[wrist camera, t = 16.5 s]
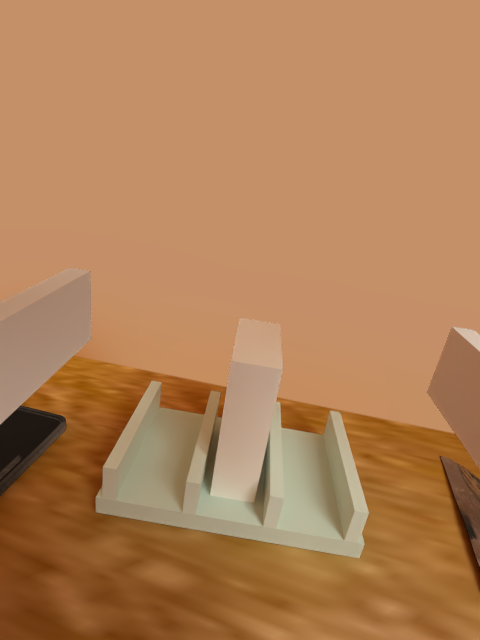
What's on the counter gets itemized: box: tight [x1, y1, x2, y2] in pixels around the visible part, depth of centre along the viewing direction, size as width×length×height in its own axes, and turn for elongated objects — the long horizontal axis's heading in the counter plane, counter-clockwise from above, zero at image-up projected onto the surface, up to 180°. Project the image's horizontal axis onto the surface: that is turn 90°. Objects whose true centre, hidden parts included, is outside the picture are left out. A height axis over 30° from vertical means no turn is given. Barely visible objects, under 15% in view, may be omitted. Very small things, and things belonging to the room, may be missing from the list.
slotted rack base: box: [96, 381, 369, 558], centre depth 33 cm, size 20×12×4 cm, turn 86°
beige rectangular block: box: [210, 318, 283, 503], centre depth 31 cm, size 4×8×12 cm, turn 175°
